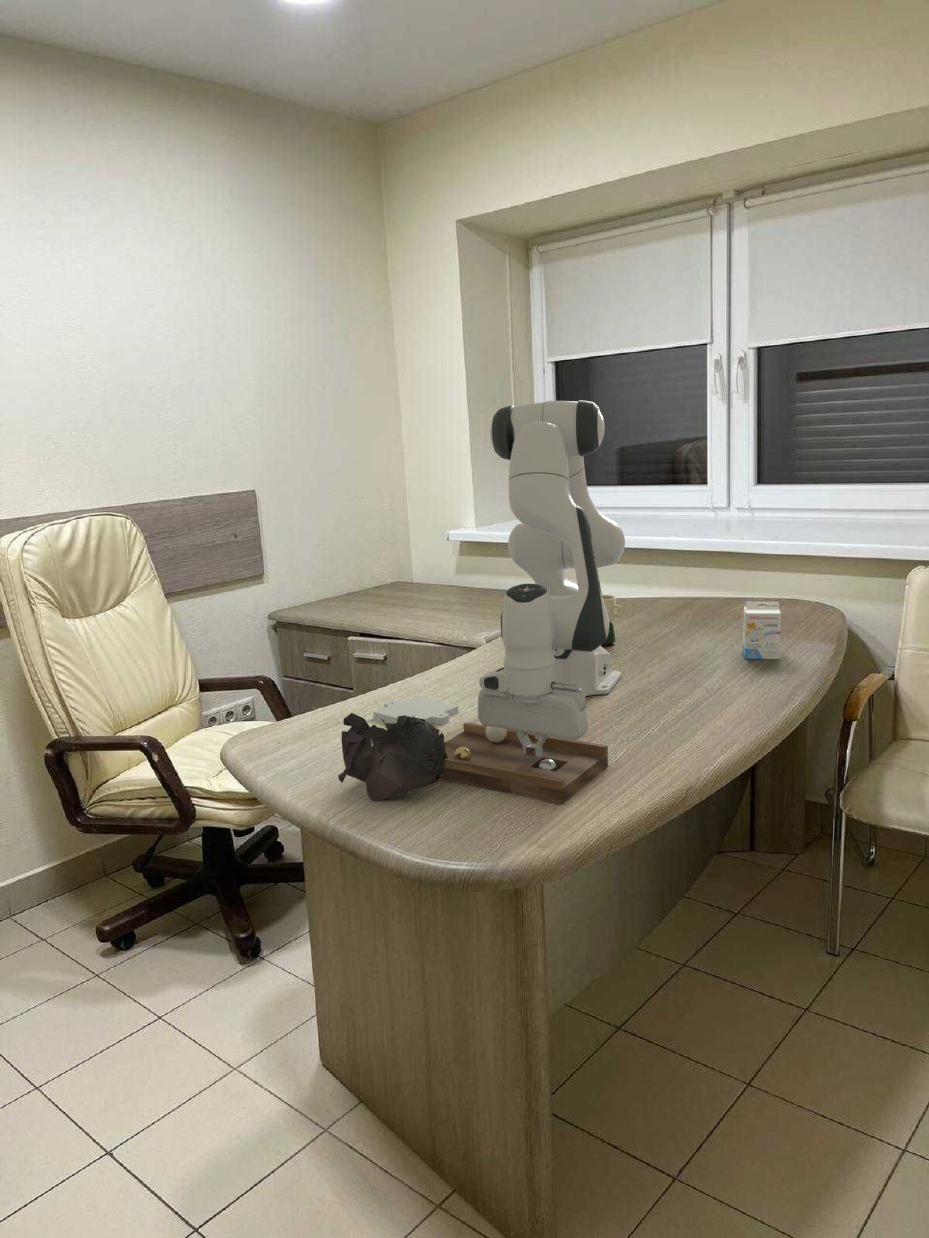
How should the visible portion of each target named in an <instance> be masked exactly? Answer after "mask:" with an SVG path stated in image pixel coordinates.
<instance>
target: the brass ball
mask: <svg viewBox="0 0 929 1238" xmlns="http://www.w3.org/2000/svg"><path fill="white" fill-rule="evenodd" d="M454 757H455V759H459V760H464V761H469V760H470V759H471V752H470V750H469V749H468V748H466V747H459V748H457V749H456V751H455V753H454Z"/></svg>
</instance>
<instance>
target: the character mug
mask: <svg viewBox="0 0 929 1238" xmlns="http://www.w3.org/2000/svg"><path fill="white" fill-rule="evenodd" d="M602 598H603V601H604V603H605V606H606V609H607V613H608V617H609V632H608V636H607V640H606V641H605V642H604V643H603V644H602V645H601V646H603V645H608V646H609V645H610V644H612V643H616V635H615V628H614V627H615V626H614V624H613V622H614V621H615V620H616V618H621V617H622V605H620V604H617V597H616V596H615V595H611V594H602Z"/></svg>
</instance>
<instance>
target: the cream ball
mask: <svg viewBox="0 0 929 1238" xmlns="http://www.w3.org/2000/svg"><path fill="white" fill-rule="evenodd" d="M485 733H486V737H487V738H488V740H489V741H491V742H493V743H499V742H502V741H503V740H504V739H505V737H506V735H507V730H506V729H504V728H498V727H492V726H487V728H486V731H485Z"/></svg>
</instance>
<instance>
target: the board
mask: <svg viewBox="0 0 929 1238" xmlns="http://www.w3.org/2000/svg"><path fill="white" fill-rule="evenodd" d="M462 726H463V731H461V732H460V733H459V734H457V735H455V736H453V737H452V738H450V739H448V740H446V741H444V742H445V749H446V754H447V757H448V759H447V758H446V760H445V764H444V772H443V776H442V777H440V778H439V781H440V780H441V781H446V782H450V783H455V784H461V785H464V786H465V785H466V786H470V787H474V788H475V787H476V788H479V789H484V790H488V791H489V790H490V791H493V792H499V793H504V794H508V795H514V796H517V797H518V796H519V797H524V798H528V799H534V800H538V801H544V802H548V803H552V804H553V803H554V804H558V805H561V806H562V805H563V804H565V802H567V801H568V800H569V799H570V798H571V797H573V796H574V795H575V794H576V793H577V792H579V791H580V790H582V788H584V787H585V786H586V785H588V784H589V783H590V782H591V781H593V779H595V778H596V777H597V776H599V774H601V773H602V772H603V771H605V770H606V769H607V768H608V767H609V760H608V759H609V758H608V757H609V755H608V753H609V751H608V745H607V744H602V743H597V742H596V743H595V742H589V741H582V740H579V739H577V740H572V739H566V738H560V737H554V736H548V737H547V739H546V741H545V743H544V744H543V745H542V746H543V754H542V755H541V756H540V757H535V756H530V755H524V751H523V745H522V744H521V742H520V740H519V739H518V737H517V731H516V730H510V729H506V730H507V735H506V737H505V739H504V740H503V741H502V742H499V743H493V742H491V741H489V740H488V738H487V737H486V733H485V731H486V728H487V726H485V725H482V724H477V723H471V722H464V723H463V724H462ZM527 735H528V737H529V739H530V741H531V743H533V744H536V743H537V741H538V739H536V738H535V733H528V734H527ZM459 747H466V748H468V749H469V750H470V752H471V759H470V760H469V761H464V760H459V759H455V757H454V753H455V751H456V749H457V748H459ZM449 751H450V752H449ZM544 759H551V760H553V761H554V762H555V763H556V764H557V768H558V770H557V771H555V772H554V771H549V770H544V769H538V766H539V763H540V762H541V761H542V760H544ZM448 769H449V770H448Z"/></svg>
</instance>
